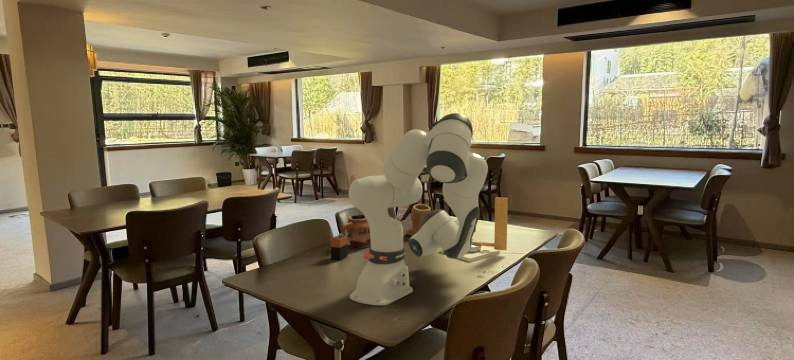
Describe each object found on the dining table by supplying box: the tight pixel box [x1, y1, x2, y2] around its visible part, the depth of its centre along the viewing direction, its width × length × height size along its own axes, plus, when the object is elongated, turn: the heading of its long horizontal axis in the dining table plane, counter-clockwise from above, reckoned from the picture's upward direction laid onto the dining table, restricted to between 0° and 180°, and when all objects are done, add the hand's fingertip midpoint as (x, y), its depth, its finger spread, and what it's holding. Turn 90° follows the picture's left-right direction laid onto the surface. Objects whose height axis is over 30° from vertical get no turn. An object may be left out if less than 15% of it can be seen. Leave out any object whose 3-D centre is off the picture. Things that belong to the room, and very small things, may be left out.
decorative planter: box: [340, 214, 371, 249], centre depth 209 cm, size 20×12×14 cm, turn 141°
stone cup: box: [405, 203, 432, 237], centre depth 230 cm, size 15×12×15 cm
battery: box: [330, 233, 349, 262], centre depth 191 cm, size 4×7×10 cm, turn 155°
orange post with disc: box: [468, 196, 509, 252], centre depth 195 cm, size 20×10×23 cm, turn 73°
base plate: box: [439, 246, 501, 263], centre depth 198 cm, size 18×18×2 cm
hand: (462, 223), depth 181 cm, fingers closed
